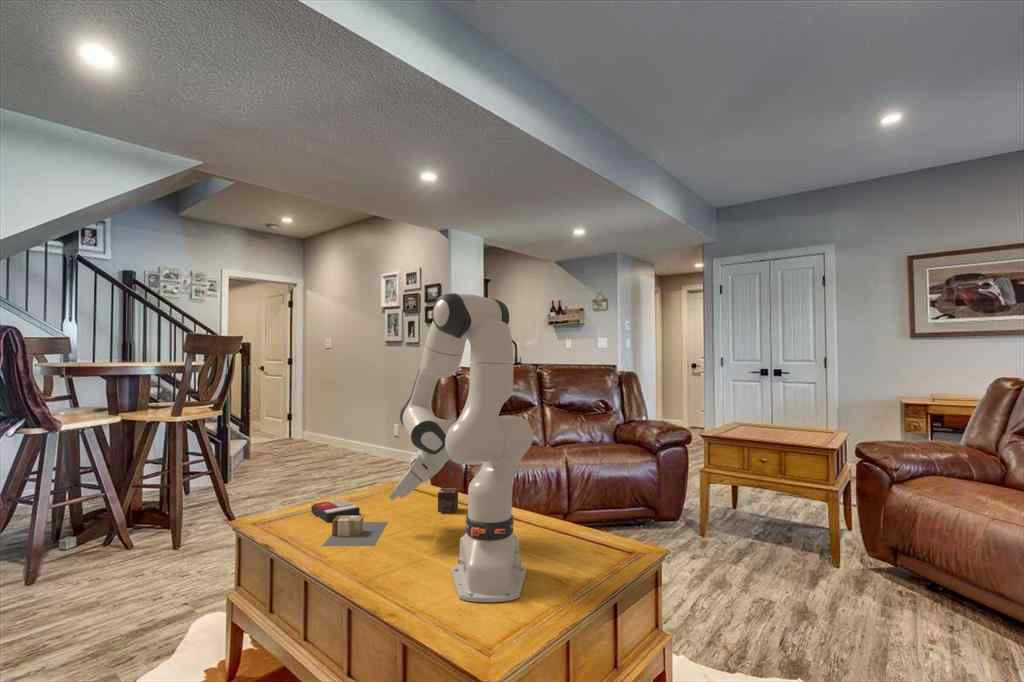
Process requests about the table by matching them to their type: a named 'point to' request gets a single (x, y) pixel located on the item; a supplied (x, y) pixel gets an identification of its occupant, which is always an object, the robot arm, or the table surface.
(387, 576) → the table surface
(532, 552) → the table surface
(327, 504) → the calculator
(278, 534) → the table surface
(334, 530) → the block
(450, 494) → the box
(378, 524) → the mat
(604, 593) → the table surface
